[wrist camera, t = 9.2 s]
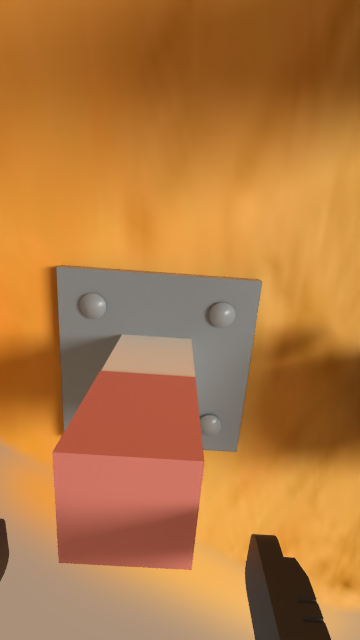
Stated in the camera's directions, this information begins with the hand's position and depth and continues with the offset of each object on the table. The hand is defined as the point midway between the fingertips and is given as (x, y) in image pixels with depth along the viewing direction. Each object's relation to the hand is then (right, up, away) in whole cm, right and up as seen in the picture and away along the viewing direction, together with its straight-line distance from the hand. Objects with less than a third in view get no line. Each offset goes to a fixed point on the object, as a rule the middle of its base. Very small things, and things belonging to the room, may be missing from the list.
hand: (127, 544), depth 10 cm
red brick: (0, +2, +7) cm, 7 cm away
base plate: (0, +4, +13) cm, 14 cm away
